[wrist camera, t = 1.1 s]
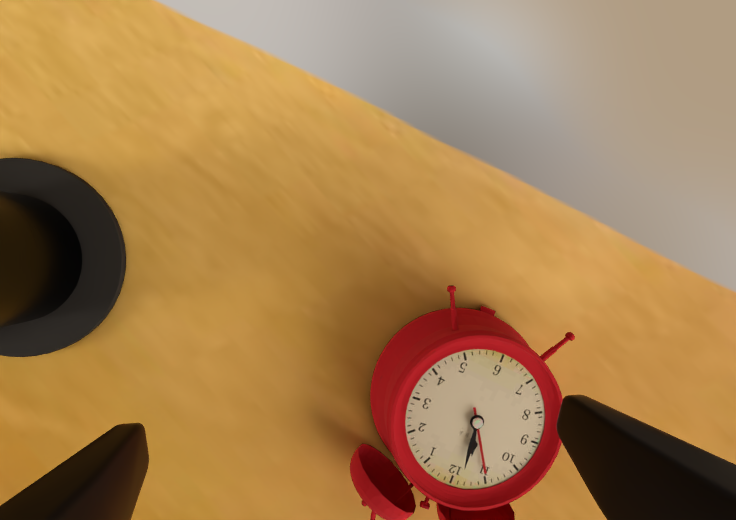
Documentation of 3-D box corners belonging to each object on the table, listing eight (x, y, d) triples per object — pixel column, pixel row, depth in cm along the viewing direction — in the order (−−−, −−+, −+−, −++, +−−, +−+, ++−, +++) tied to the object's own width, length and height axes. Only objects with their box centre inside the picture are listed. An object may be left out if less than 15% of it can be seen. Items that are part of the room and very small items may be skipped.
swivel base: (84, 382, 20) (79, 385, 20) (-113, 313, 19) (-123, 314, 19) (155, 205, 20) (151, 204, 20) (-39, 127, 19) (-47, 125, 19)
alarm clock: (610, 339, 19) (544, 673, 15) (536, 335, 25) (478, 573, 21) (428, 267, 18) (318, 604, 14) (399, 281, 24) (316, 521, 21)
